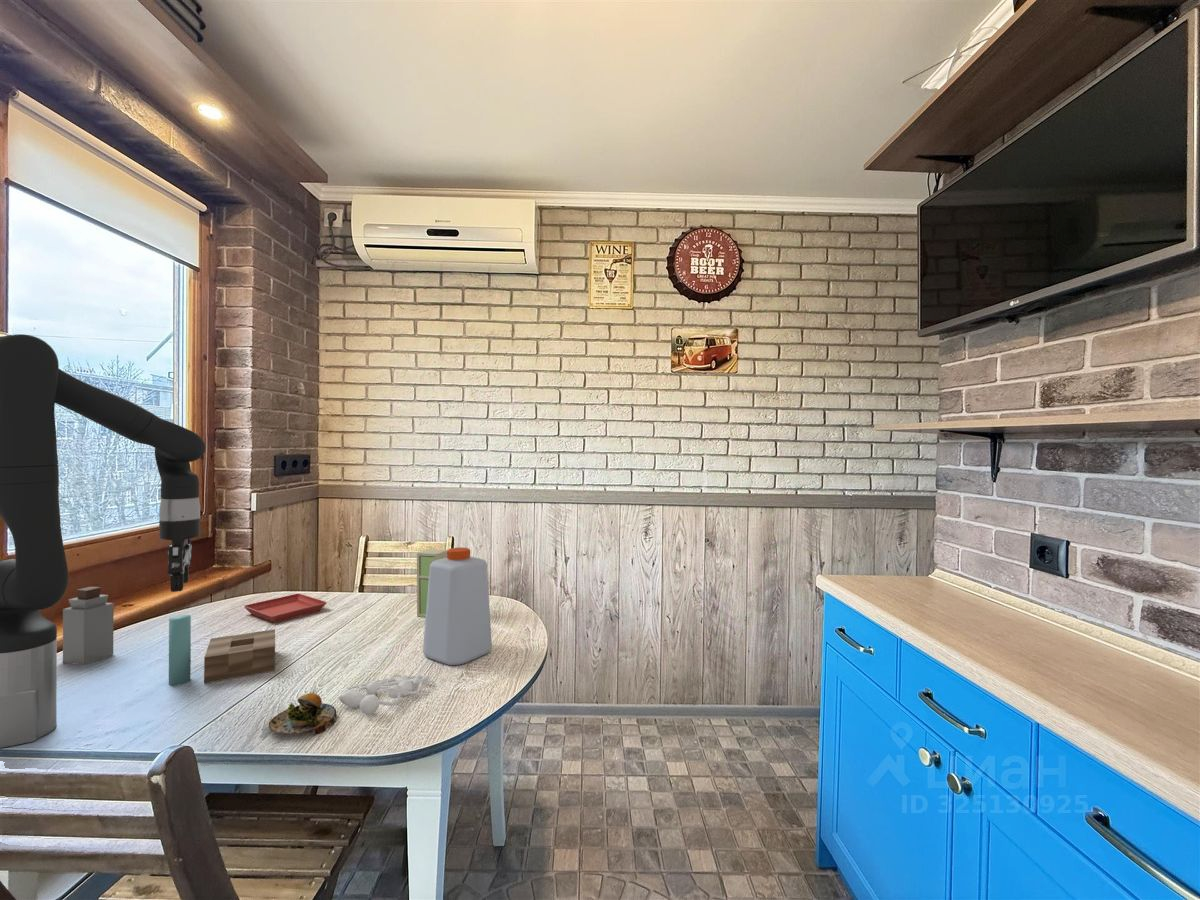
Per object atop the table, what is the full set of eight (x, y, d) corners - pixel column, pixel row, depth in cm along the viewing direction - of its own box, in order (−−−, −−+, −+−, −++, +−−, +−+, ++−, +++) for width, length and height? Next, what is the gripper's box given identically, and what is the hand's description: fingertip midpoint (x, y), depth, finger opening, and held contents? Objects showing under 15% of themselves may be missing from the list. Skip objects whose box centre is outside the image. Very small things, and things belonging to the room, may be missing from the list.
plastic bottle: (498, 650, 146) (499, 548, 146) (455, 669, 133) (456, 557, 133) (460, 639, 154) (461, 542, 154) (416, 656, 141) (417, 550, 141)
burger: (261, 725, 107) (262, 687, 107) (325, 705, 115) (325, 670, 115) (278, 750, 98) (278, 709, 98) (345, 726, 106) (345, 689, 106)
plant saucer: (328, 611, 179) (328, 601, 179) (271, 626, 164) (271, 615, 164) (298, 602, 189) (298, 593, 189) (242, 615, 174) (242, 605, 174)
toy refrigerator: (414, 617, 173) (415, 552, 173) (428, 610, 180) (428, 548, 180) (436, 619, 171) (436, 554, 171) (448, 613, 178) (449, 550, 178)
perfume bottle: (83, 664, 133) (84, 592, 133) (62, 662, 135) (63, 591, 135) (113, 654, 140) (113, 586, 140) (92, 652, 141) (93, 584, 141)
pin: (189, 682, 124) (189, 618, 124) (167, 686, 122) (167, 621, 122) (191, 676, 128) (191, 613, 128) (170, 680, 126) (170, 616, 125)
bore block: (274, 670, 131) (275, 646, 131) (204, 683, 124) (204, 657, 124) (275, 651, 143) (275, 629, 143) (210, 662, 136) (210, 638, 136)
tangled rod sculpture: (404, 678, 132) (404, 660, 132) (445, 687, 124) (444, 669, 124) (328, 707, 115) (328, 688, 115) (370, 721, 107) (369, 700, 108)
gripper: (196, 520, 121) (196, 592, 121) (203, 513, 133) (203, 578, 133) (153, 522, 117) (153, 596, 117) (164, 514, 129) (164, 582, 129)
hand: (179, 586), depth 125 cm, fingers open, 8 cm apart
